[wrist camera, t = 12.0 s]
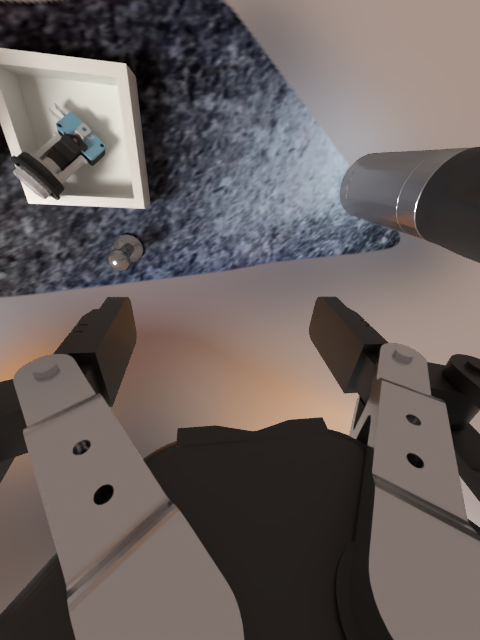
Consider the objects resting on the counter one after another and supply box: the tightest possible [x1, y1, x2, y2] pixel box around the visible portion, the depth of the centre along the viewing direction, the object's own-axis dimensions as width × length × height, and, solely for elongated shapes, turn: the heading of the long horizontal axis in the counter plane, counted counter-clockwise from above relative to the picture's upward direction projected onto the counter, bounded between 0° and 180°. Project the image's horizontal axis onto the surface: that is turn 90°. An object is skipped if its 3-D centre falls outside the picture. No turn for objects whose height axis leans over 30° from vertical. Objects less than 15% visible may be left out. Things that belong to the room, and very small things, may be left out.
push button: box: [11, 103, 105, 200], centre depth 30 cm, size 7×5×10 cm
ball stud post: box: [107, 234, 143, 270], centre depth 38 cm, size 4×4×8 cm
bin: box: [0, 48, 151, 209], centre depth 31 cm, size 14×14×5 cm
